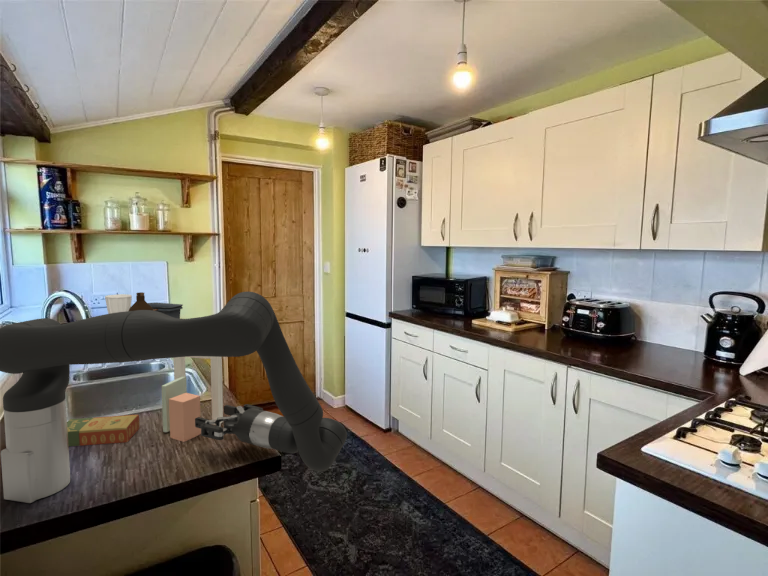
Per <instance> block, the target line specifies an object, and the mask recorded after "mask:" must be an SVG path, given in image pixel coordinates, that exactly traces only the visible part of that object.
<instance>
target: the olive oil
mask: <svg viewBox="0 0 768 576" xmlns="http://www.w3.org/2000/svg"><path fill="white" fill-rule="evenodd" d="M135 295H136V296H135V299H136V301H135V302H134V303H133V304H131V307H130V309H129V311H136V310H153V308H152V307H151V306H150V305H149V304H148V303H149V302H147V301H146V300H145V297H146V295H145V292H136V294H135ZM153 311H154V310H153Z"/></svg>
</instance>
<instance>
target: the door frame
mask: <svg viewBox="0 0 768 576" xmlns="http://www.w3.org/2000/svg"><path fill="white" fill-rule="evenodd" d="M186 358H197V359H209V360H210V386H211V387H210V389H211V391H210V394H211V420H216V419H217V418H218V417H224V406H223V405H224V402H223V401H224V399H223V366H222V365H223V360H222V359H223V357H212V356H187V357H176V358H173V377H174V379H173V380H175V379H178V378H180V377H182V376H184V377H186V378H187V376H186V375H187V374H186ZM222 423H224V421H221V422H220V424H221V425H222ZM213 425H214V426H216V424H213Z"/></svg>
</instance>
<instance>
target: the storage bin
mask: <svg viewBox="0 0 768 576" xmlns="http://www.w3.org/2000/svg"><path fill="white" fill-rule="evenodd" d="M147 303H148V304H149V305H150V306H151V307H152V308H153V310H154V311H157V312H161V313H163V314H166V315H169V316H171V317H174V318H178V319H181V310H183V308H184V307H183V306H184V304H183V303H182V304H181V303H166V302H147Z"/></svg>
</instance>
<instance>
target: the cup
mask: <svg viewBox="0 0 768 576" xmlns="http://www.w3.org/2000/svg"><path fill="white" fill-rule="evenodd" d="M132 297H133V296H132V294H128V293H127V294H126V293H125V294H124V293H123V294H120V293H119V294H118V293H117V294H108V295H105V296H104V298H105V299H104V300H105V304H106V305H105V306H106V309H107V314H111V313H117V312H126V311H129V309H130V307H131V306H132V299H133V298H132Z"/></svg>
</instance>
